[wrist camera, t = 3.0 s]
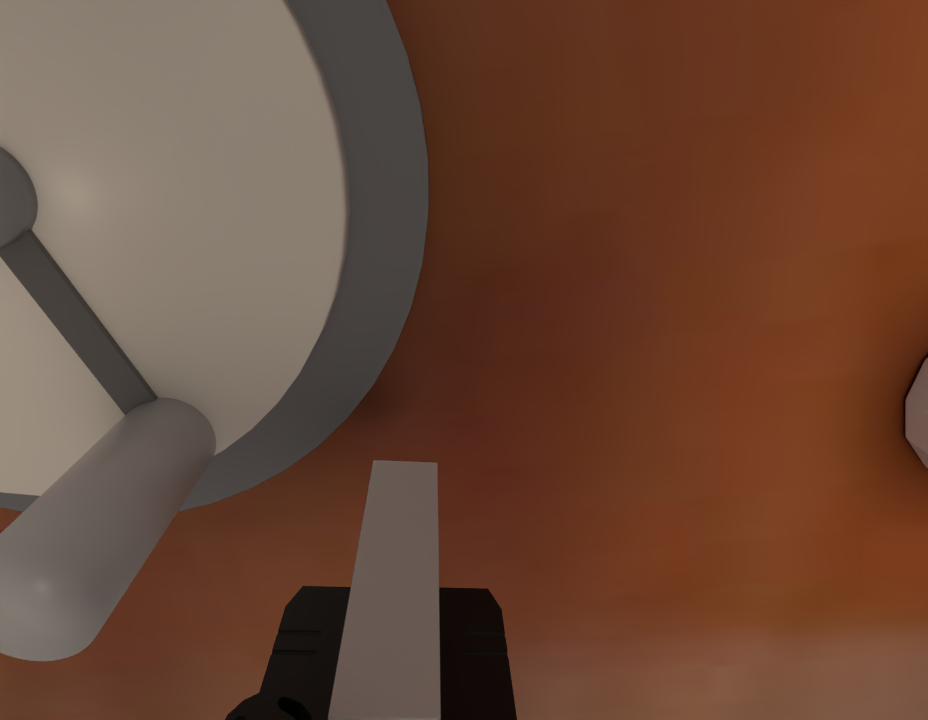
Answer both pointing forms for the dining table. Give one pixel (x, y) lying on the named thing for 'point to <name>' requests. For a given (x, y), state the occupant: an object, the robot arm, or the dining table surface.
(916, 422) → the white cup
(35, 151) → the cream crank wheel
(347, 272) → the stand base
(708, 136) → the dining table surface
